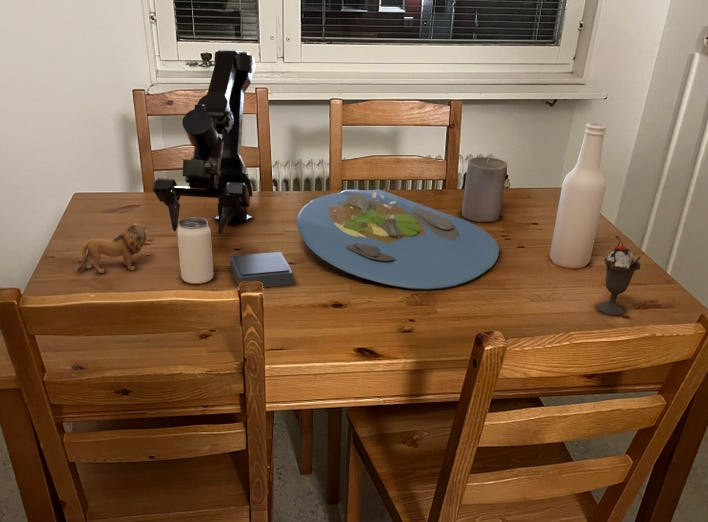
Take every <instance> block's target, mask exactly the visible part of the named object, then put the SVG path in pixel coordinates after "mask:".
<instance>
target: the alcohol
mask: <svg viewBox="0 0 708 522" xmlns="http://www.w3.org/2000/svg"><path fill="white" fill-rule="evenodd" d="M585 127H586V128H585V129H584V136H583V140H582V143H581V147H580V151H579V154H578V157H577V161H576V164H575V166H574V168H573V169H571V170H570V171H569V172H568V173H567V174H566V175H565V177H564V179H563V182H562V185H561V190H560V196H559V201H558V207H557V211H556V217H555V222H554V228H553V234H552V240H551V244H550V249H549V258H550V261H551V262H552V263H553V264H555V265H556V266H559V267H562V268H566V269H582V268H584V267H586V266H587V265H588V264H589V263H590V261H591V258H592V253H593V248H594V244H595V239H596V234H597V230H598V225H599V222H600V221H599V220H600V216H601V212H602V206H603V202H604V199H605V198H604V197H605V193H606V188H607V187H606V179H605V177H604V174H603V173H602V171H601V162H602V152H603V144H604V137H605V134H606V129H607V126H606V124H604V123H602V122H596V121H595V122H594V121H591V122H588V123H586V124H585Z"/></svg>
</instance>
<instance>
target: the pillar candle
mask: <svg viewBox="0 0 708 522" xmlns="http://www.w3.org/2000/svg"><path fill="white" fill-rule="evenodd" d="M467 161H468V162H467V168H466V175H465V183H464V193H463V198H462V199H463V200H462V208H461V216H462V217H463V218H464V219H466V220H469V221H472V222H476V223H485V222H487V223H490V222H491V223H492V222H496V221H498V220H499V219H500V218H501V211H502V206H503V198H504V191H505V185H506V179H507V178H506V177H507V171H508V163H507V162H506V161H504V160H502V159H499V158H495V157H490V156H479V157H477V156H476V157H472V158H470V159H468V160H467Z"/></svg>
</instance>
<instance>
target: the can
mask: <svg viewBox="0 0 708 522" xmlns="http://www.w3.org/2000/svg"><path fill="white" fill-rule="evenodd" d="M208 223H209V222H208V220H207V219H205V218H202V217H196V216H195V217H187V218H183V219H181V220H178V226H177V229H176V234H177V245H178V246H177V247H178V256H179V257H178V258H179V266H180V276H181V279H182V281H184V282H185V283H186V284H190V285H204V284H206V283H209V282H211V281H212V279H214V263H213V261H214V260H213V259H214V258H213V248H212V247H213V246H212V232H211V227H210V226H209V224H208Z"/></svg>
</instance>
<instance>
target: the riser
mask: <svg viewBox="0 0 708 522" xmlns="http://www.w3.org/2000/svg"><path fill="white" fill-rule="evenodd" d="M229 269H230V271H231V273H232V276H233V278H234V280H235V283H236V285H237V287H238V286H239V283H240V282H242V281H260V282H262V283H263V286H264V288H263V289H266V288H275V287H284V286H285V287H287V286H293V285H294V271H293V270H292V268H291V267H290V264H289V263H288V261H287V259H286V258H285V256H284V255H283V252H282V251H274V252H273V251H272V252H263V253H261V252H260V253H250V254H239V255H230V256H229Z"/></svg>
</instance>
